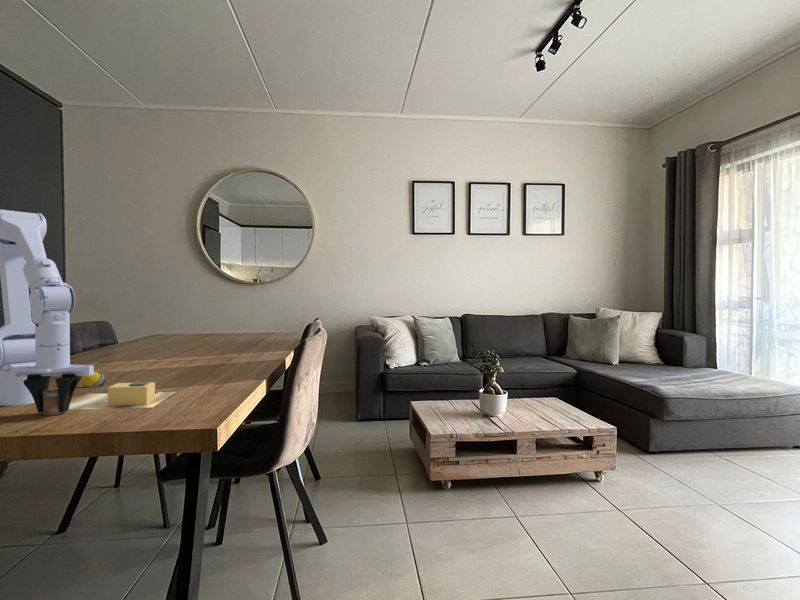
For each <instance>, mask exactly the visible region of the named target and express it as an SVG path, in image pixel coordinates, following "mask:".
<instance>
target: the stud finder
mask: <svg viewBox="0 0 800 600" xmlns="http://www.w3.org/2000/svg"><path fill="white" fill-rule="evenodd" d="M155 392H156V382H155V381H154V382H150V381H134V382H124V383H123V382H118V383H116V384H113V385H111V386H109V387H107V393H108V406H121V405H147V404H149V403H151V402H152V401H154V400H155Z"/></svg>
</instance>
